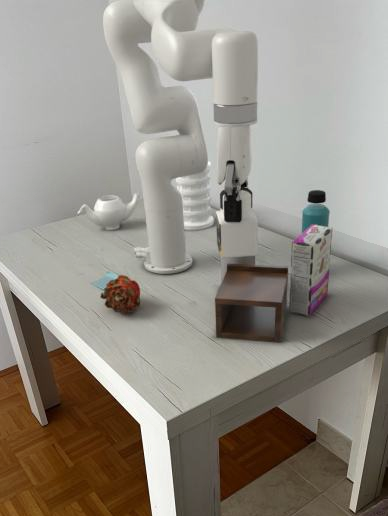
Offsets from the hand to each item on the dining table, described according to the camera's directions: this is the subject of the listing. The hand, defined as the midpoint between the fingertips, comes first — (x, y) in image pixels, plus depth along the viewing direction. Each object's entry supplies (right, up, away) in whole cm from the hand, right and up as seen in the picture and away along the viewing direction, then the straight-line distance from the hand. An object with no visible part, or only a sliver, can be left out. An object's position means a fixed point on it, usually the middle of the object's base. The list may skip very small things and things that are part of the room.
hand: (236, 213), depth 104 cm
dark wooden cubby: (+4, -20, +12) cm, 24 cm away
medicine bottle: (0, -6, +4) cm, 8 cm away
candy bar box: (+17, -16, +18) cm, 30 cm away
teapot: (-33, +11, +66) cm, 75 cm away
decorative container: (-8, +13, +66) cm, 67 cm away
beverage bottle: (+21, -7, +32) cm, 39 cm away
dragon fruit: (-24, -17, +21) cm, 36 cm away
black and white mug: (+3, -11, +27) cm, 30 cm away
